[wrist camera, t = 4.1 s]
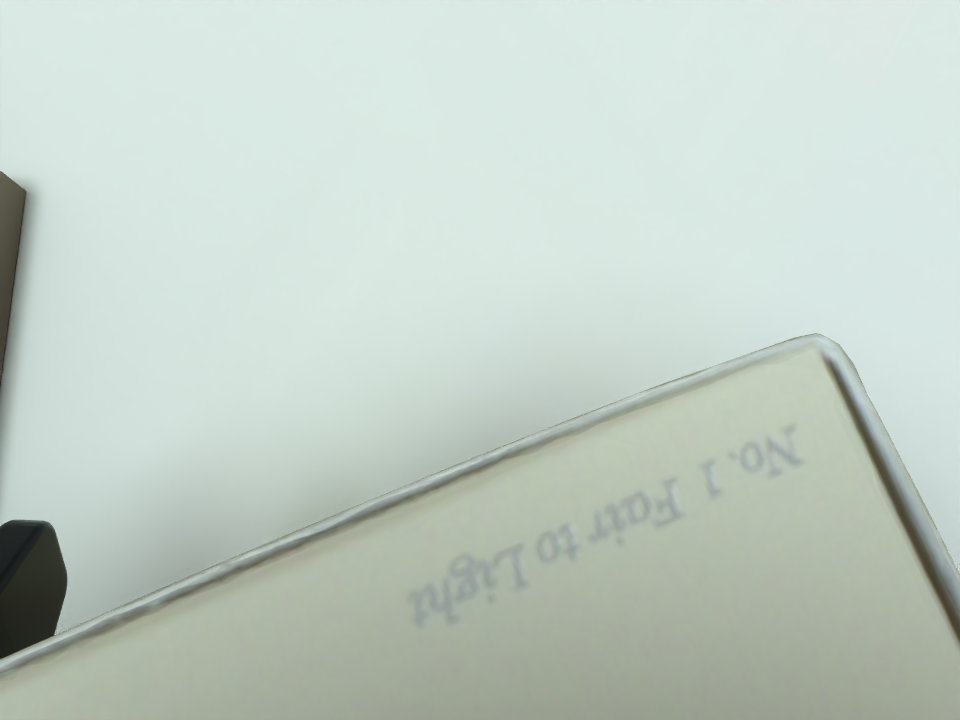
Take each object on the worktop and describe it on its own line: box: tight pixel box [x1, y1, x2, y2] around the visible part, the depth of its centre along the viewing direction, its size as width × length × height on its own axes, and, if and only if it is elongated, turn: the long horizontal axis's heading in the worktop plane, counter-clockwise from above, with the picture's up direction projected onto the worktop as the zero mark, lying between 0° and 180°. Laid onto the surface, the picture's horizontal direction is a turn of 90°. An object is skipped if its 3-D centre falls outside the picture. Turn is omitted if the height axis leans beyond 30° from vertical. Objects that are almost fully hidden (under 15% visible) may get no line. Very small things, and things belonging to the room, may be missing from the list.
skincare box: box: [0, 333, 960, 720], centre depth 10 cm, size 6×4×12 cm
